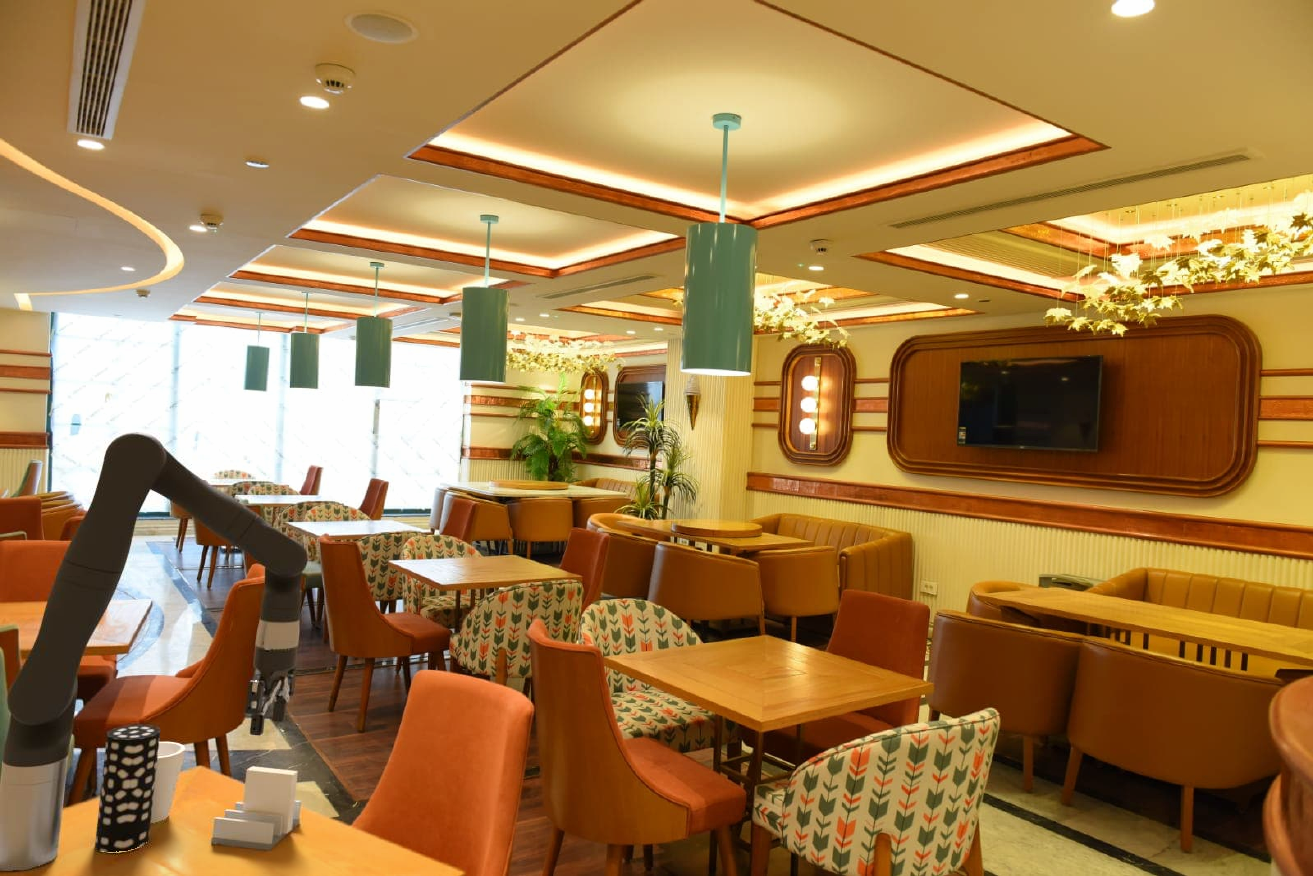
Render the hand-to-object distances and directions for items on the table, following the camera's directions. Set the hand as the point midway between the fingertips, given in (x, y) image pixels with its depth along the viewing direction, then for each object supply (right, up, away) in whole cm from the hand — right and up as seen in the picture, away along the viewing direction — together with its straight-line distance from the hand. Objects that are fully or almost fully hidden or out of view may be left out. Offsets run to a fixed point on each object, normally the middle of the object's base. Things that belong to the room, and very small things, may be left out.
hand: (267, 727), depth 164 cm
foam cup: (-24, -18, +2) cm, 30 cm away
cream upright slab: (0, -19, -1) cm, 19 cm away
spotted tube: (-22, -18, -9) cm, 30 cm away
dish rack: (-2, -20, -1) cm, 20 cm away
